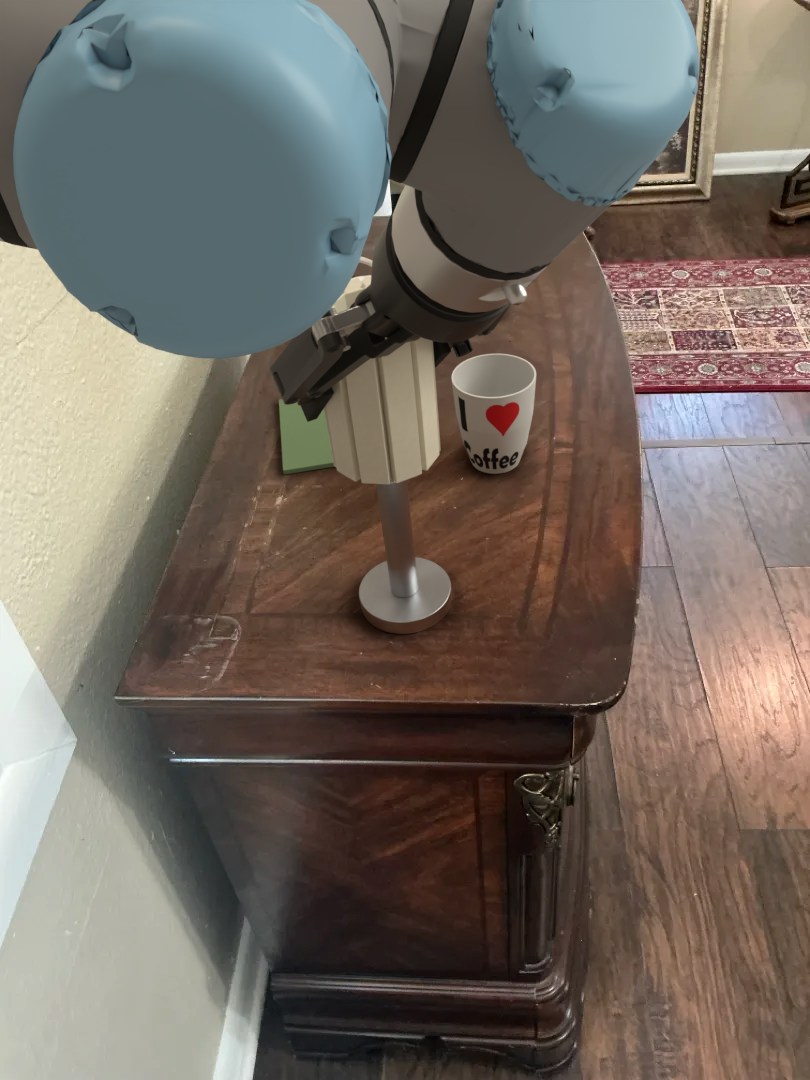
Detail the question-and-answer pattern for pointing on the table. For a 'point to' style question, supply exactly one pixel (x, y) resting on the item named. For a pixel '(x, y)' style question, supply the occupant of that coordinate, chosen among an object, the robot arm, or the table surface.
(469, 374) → the cup
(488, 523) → the table surface
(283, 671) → the table surface
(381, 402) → the cream slatted holder
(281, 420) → the mat
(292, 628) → the table surface
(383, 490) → the stand
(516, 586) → the table surface
